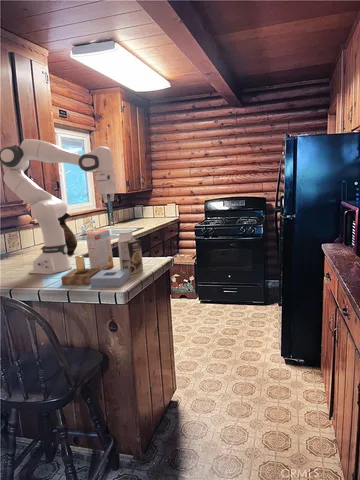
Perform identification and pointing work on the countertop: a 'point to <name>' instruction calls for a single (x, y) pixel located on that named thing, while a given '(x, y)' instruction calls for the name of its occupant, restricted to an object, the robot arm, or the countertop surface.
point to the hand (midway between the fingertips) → (109, 202)
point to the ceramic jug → (68, 235)
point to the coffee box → (131, 256)
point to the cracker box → (100, 249)
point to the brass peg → (80, 264)
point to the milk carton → (123, 238)
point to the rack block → (79, 277)
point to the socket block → (110, 278)
